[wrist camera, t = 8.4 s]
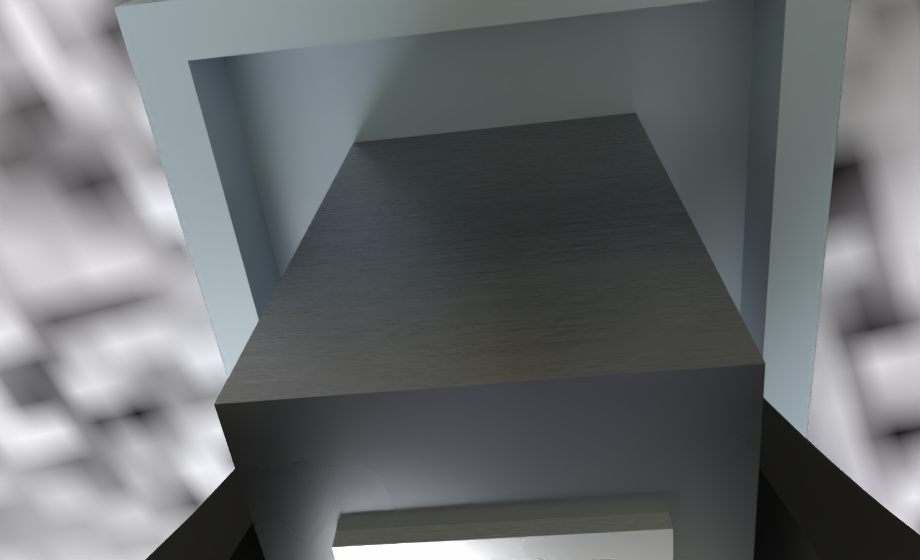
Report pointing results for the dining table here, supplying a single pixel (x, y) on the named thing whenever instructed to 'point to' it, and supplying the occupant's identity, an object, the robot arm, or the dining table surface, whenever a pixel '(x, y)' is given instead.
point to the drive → (500, 362)
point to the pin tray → (501, 125)
